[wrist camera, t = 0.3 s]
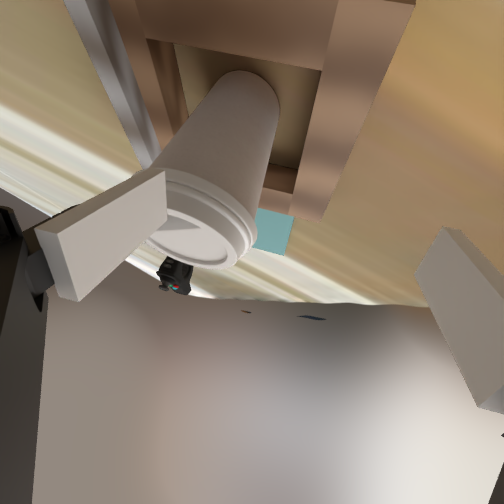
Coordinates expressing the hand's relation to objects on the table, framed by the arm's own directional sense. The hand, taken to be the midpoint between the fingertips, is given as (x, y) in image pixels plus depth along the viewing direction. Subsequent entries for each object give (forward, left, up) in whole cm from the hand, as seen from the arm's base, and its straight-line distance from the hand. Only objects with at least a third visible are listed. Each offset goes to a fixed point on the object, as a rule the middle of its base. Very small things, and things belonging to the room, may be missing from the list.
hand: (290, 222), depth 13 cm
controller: (+44, -21, -15) cm, 51 cm away
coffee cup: (+5, -7, -15) cm, 17 cm away
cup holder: (+5, -7, -15) cm, 17 cm away
